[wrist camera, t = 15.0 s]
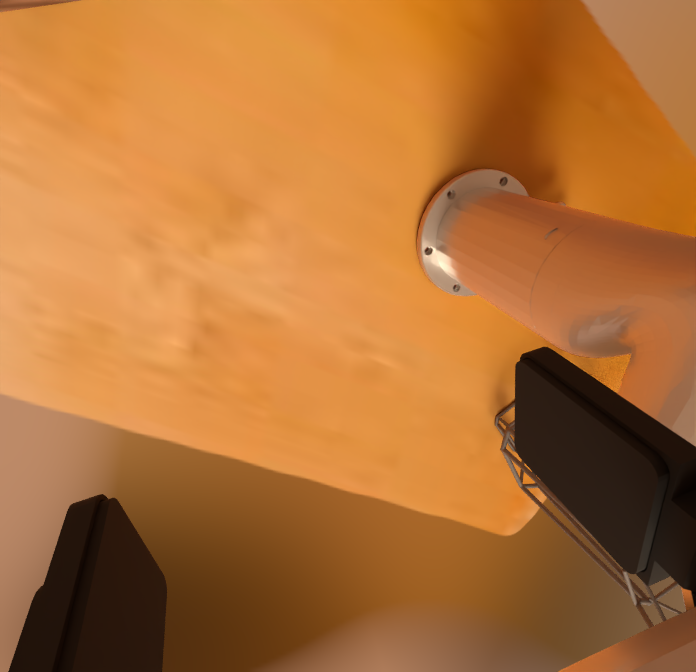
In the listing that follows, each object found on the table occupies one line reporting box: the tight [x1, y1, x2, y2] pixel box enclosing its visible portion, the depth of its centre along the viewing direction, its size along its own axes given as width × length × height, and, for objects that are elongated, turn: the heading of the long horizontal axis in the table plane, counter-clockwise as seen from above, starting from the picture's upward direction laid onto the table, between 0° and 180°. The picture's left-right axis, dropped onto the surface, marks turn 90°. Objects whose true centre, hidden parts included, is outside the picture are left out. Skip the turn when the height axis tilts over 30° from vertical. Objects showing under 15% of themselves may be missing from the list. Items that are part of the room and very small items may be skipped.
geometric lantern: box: [495, 402, 682, 628], centre depth 46 cm, size 16×16×35 cm
